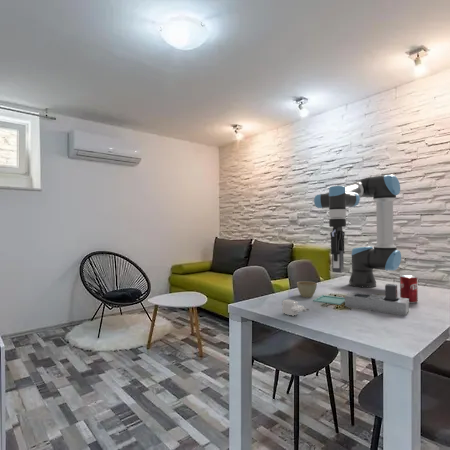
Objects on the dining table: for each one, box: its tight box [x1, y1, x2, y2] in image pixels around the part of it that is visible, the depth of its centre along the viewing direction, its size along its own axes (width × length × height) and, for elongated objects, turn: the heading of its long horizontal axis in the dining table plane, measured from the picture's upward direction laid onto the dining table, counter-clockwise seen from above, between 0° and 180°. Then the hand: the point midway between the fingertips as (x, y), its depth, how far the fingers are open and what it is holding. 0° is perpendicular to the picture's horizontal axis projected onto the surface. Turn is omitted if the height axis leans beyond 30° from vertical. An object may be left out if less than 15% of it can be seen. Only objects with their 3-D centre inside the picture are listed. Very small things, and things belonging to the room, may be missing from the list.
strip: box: [344, 283, 410, 317], centre depth 144 cm, size 20×24×11 cm
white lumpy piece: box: [281, 299, 310, 317], centre depth 131 cm, size 11×5×6 cm, turn 43°
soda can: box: [399, 274, 419, 304], centre depth 151 cm, size 7×7×12 cm
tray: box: [312, 294, 345, 306], centre depth 155 cm, size 13×13×1 cm
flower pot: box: [296, 280, 318, 298], centre depth 164 cm, size 10×10×7 cm
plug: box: [331, 251, 345, 274], centre depth 152 cm, size 4×4×10 cm
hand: (338, 267), depth 151 cm, fingers closed on plug, 4 cm apart
